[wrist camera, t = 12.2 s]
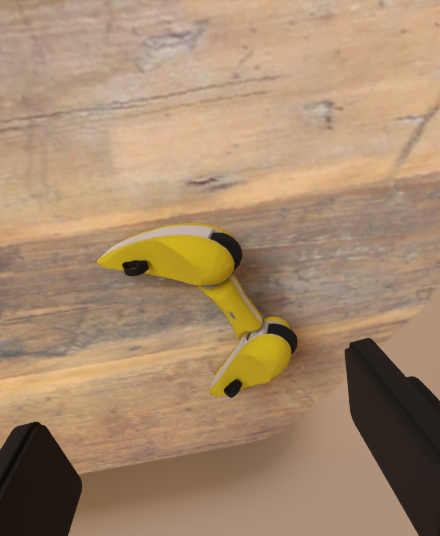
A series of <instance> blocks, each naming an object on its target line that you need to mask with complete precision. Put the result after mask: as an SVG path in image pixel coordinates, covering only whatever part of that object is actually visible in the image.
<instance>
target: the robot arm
mask: <svg viewBox="0 0 440 536" xmlns="http://www.w3.org/2000/svg"><path fill="white" fill-rule="evenodd" d="M345 360H346V371H347V382H348V393H349V404H350V412H351V416H352V419H353V421H354V423H355V425H356V427H357V429H358V430H359V432H360V434H361V436H362V437H363V439H364V441H365V443H366V444H367V446H368V448H369V450H370V451H371V453H372V455H373V457H374V458H375V460H376V462H377V464H378V465H379V467H380V469H381V470H382V472H383V474H384V476H385V477H386V479H387V481H388V482H389V484H390V486H391V488H392V489H393V491H394V493H395V495H396V496H397V498H398V500H399V502H400V503H401V505H402V507H403V509H404V510H405V512H406V514H407V516H408V517H409V519H410V521H411V523H412V524H413V526H414V528H415V530H416V531H417V533H418V535H419V536H440V401H439V400H438V398H437V397H436V396H435V395H434V394H433V393H432V392H431V391H430V390H429V389H428V388H427V387H426V386H425V385H424V384H423V383H422V382H421V381H420V380H419V379H418V378H416V377H413V376H411V377H405V375H404V374H403V373H402V372H401V371H400V370H399V369H398V368H397V366H395V364H394V363H393V362H392V361H391V360H390V359H389V358H388V357H387V356H386V354H385V353H384V352H383V351H382V350H381V349H380V348H379V347H378V345H377V344H376V343H375V342H374V341H373V340H372V339H370V338H366V339H362V340H358V341H355V342H351V343H350V347H349V348H347V349H345ZM81 491H82V481H81V478H80V477H79V475H78V474H77V472H76V471H75V469H74V468H73V466H72V465H71V463H70V462H69V460H68V459H67V457H66V456H65V454H64V453H63V451H62V450H61V448H60V447H59V445H58V444H57V442H56V441H55V439H54V438H53V436H52V435H51V433H50V432H49V430H48V429H47V427H46V426H44V425H41V424H40V423H39V422H33V423H29V424H25V425H21V426H17V427H16V428H14V429H13V430H12V432H11V433H10V435H9V437H8V438H7V440H6V442H5V443H4V445H3V446H2V448H1V450H0V536H68V534H69V531H70V527H71V524H72V521H73V518H74V514H75V511H76V508H77V504H78V501H79V498H80V495H81Z"/></svg>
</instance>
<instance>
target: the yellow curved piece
mask: <svg viewBox="0 0 440 536" xmlns="http://www.w3.org/2000/svg"><path fill="white" fill-rule="evenodd" d="M241 258H242V250H241V247H240V245H239V244H238V242H237V241H236V240H235V239H234V237H233V236H232V235H231V234H229V233H228V232H227V231H225V230H223V229H221V228H219V227H216V226H213V225H209V224H202V223H181V224H173V225H168V226H164V227H160V228H156V229H152V230H148V231H145V232H142V233H139V234H137V235H134V236H132V237H130V238H128V239H125V240H123V241H121V242H120V243H118V244H116V245H114V246H113V247H111V248H110V249H109V250H108V251H107V252H106V253H105V254H103V255H102V256H101V257H100V258H99V259H98V260H97V263H98V264H99V266H101V267H103V268H105V269H117V270H123V271H124V272H125V274H126V275H128V276H136V275H140V274H149V275H155V276H160V277H165V278H171V279H175V280H178V281H182V282H186V283H189V284H192V285H199V286H200V289H201V290H202V291H203V292H204V293H205V294H206V295H207V296H208V297H210V298H211V299H212V300H213V301H214V302H215V303H216V304H217V306H218V307H219V308H220V309H221V310H222V311H223V313H224V314H225V315H226V317H227V318H228V320H229V321H230V323H231V325H232V327H233V329H234V332H235V334H236V337H237V339H238V338H239V337H240V336H241V335H243V334H244V336H243V337H242V338H241V339H240V341H239V342H238V344H237V345H236V347H235V348H234V350H233V351H232V353H231V354H230V356H229V357H228V359H227V360H226V362H225V363H224V365H222V366H221V367H220V368H219V369H218V371H217V372H216V373H215V375H214V378H213V381H212V384H211V387H210V390H209V393H210V394H211V395H213V396H223V395H227V396H229V397H230V398H232V397H234V396H235V395H236V394H237V393H238V392H239V391H240V390H242V389H245V388H247V387H250V386H253V385H257V384H262V383H268V382H269V381H271V380H272V379H274V378H275V377H277V376H278V375H280V374H281V373H282V372H283V371H284V370H285V368H286V367H287V365H288V364H289V361H290V358H291V355H292V354H293V353H294V352H295V350H296V348H297V336H296V335H295V333H294V332H293V331H292V330H291V329H290V327H289V325H288V323H287V322H286V321H285V320H283V319H281V318H279V317H276V316H270V317H267V318H264V319H263V318H262V316H261V314H260V312H259V311H258V310H257V308H256V307H255V306H254V305H253V303H252V302H251V301H250V299H249V298H248V297H247V295H246V293H245V292H244V290H243V288H242V286H241V285H240V283H239V281H238V279H237V278H236V276H235V275H234V274H232V272H233V271H234V270H235V269H236V268H237V267H238V266H239V264H240V261H241Z"/></svg>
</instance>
